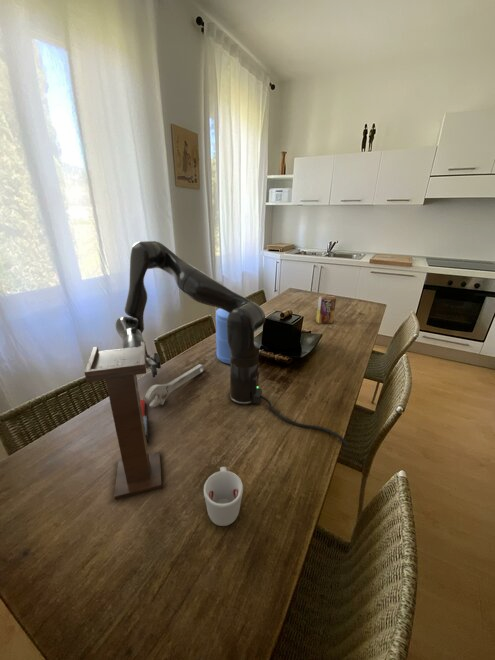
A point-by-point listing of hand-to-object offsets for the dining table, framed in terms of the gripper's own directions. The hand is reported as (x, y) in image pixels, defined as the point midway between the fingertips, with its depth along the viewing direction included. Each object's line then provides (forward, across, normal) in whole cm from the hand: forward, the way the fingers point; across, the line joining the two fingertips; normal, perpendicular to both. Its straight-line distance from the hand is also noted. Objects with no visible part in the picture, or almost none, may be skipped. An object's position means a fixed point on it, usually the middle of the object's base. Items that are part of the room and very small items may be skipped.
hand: (140, 376), depth 87 cm
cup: (+44, +12, +4) cm, 45 cm away
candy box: (-35, +105, +7) cm, 111 cm away
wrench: (-3, +13, +10) cm, 17 cm away
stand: (+28, -4, +7) cm, 29 cm away
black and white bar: (+10, -1, +10) cm, 14 cm away
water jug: (-17, +41, +10) cm, 45 cm away
